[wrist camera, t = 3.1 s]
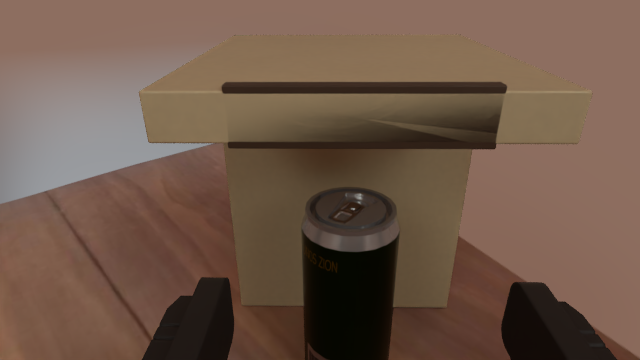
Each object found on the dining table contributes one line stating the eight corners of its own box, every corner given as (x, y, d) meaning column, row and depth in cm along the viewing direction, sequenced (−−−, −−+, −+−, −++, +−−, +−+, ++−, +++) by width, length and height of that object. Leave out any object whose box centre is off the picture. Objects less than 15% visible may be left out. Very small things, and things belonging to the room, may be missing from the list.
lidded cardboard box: (495, 443, 23) (596, 85, 14) (205, 438, 23) (136, 85, 15) (421, 236, 41) (446, 25, 33) (260, 235, 42) (244, 26, 33)
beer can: (364, 418, 24) (374, 246, 19) (289, 377, 27) (280, 215, 22) (399, 355, 28) (416, 199, 23) (331, 324, 31) (332, 177, 26)
